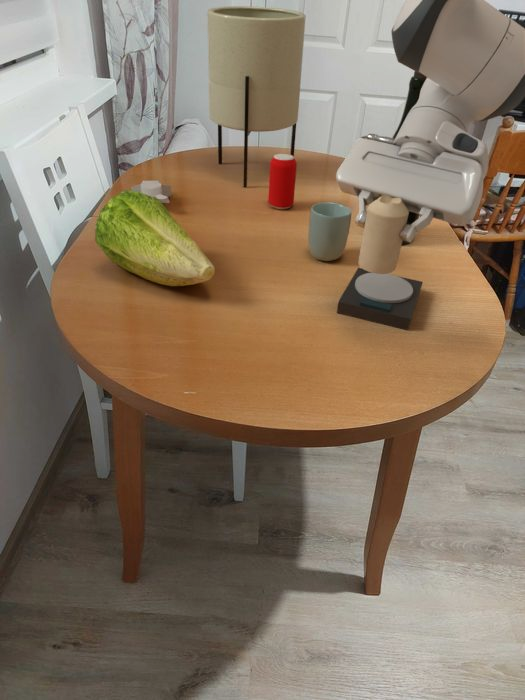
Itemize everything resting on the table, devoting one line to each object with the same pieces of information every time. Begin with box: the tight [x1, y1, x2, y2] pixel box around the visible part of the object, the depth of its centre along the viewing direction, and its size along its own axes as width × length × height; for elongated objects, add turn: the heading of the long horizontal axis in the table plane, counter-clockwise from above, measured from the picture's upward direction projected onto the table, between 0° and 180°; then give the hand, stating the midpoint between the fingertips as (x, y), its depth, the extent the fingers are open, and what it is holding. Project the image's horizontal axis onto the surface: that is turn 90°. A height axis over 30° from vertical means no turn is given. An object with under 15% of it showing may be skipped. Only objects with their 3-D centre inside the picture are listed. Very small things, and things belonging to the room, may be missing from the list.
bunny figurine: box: [130, 180, 172, 205], centre depth 123 cm, size 10×5×15 cm
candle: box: [358, 195, 409, 274], centre depth 72 cm, size 6×6×10 cm
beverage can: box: [267, 153, 298, 211], centre depth 123 cm, size 6×6×12 cm
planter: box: [206, 5, 307, 188], centre depth 135 cm, size 23×24×39 cm
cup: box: [307, 201, 352, 262], centre depth 102 cm, size 8×8×10 cm
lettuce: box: [94, 189, 215, 287], centre depth 91 cm, size 14×24×15 cm
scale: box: [336, 267, 424, 331], centre depth 90 cm, size 12×14×3 cm
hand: (382, 232), depth 72 cm, fingers closed on candle, 5 cm apart
